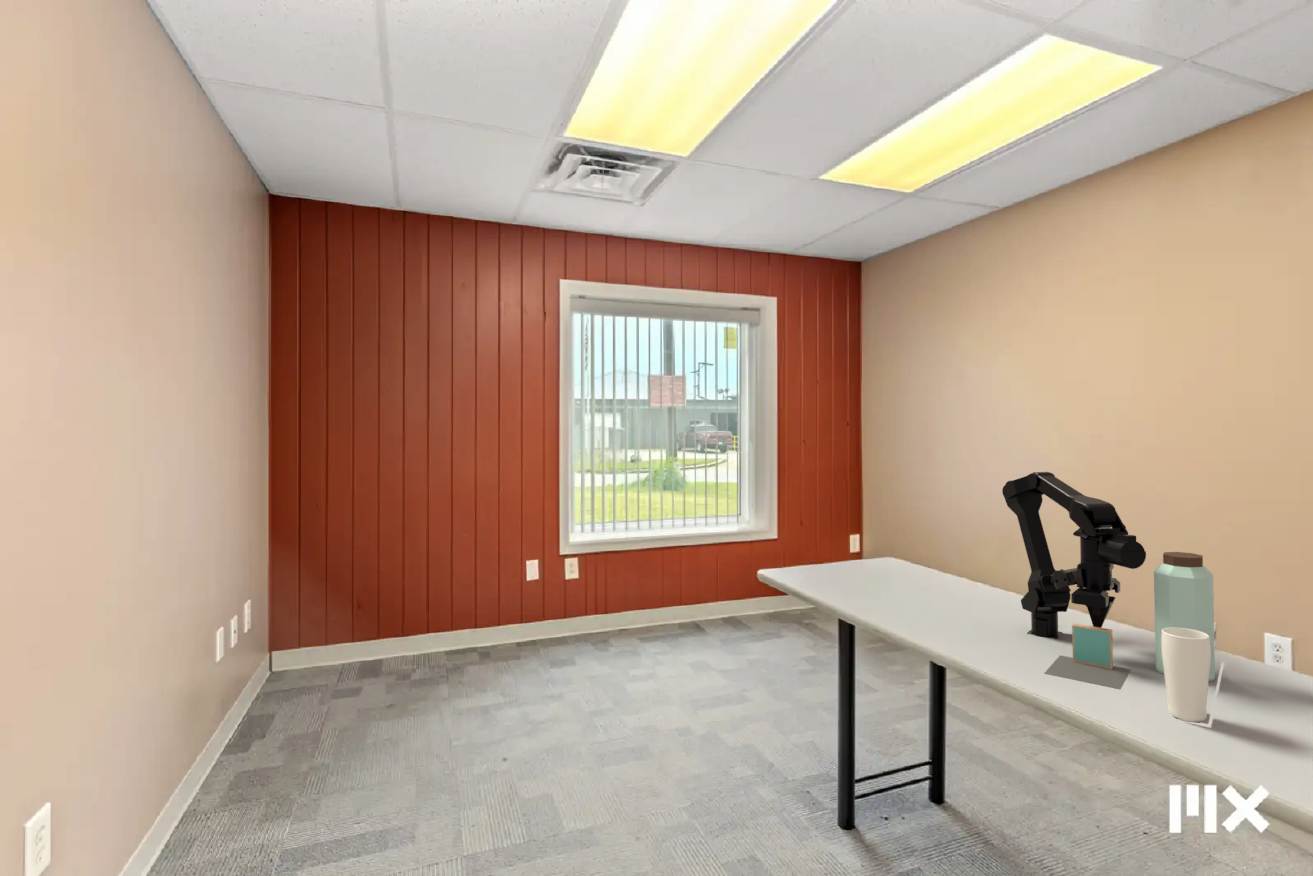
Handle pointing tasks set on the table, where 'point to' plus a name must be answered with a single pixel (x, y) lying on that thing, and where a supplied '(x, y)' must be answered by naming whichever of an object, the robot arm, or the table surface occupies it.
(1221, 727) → the table surface
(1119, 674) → the mat
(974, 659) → the table surface
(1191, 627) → the water bottle
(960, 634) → the table surface
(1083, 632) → the tile
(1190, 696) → the drinking glass
